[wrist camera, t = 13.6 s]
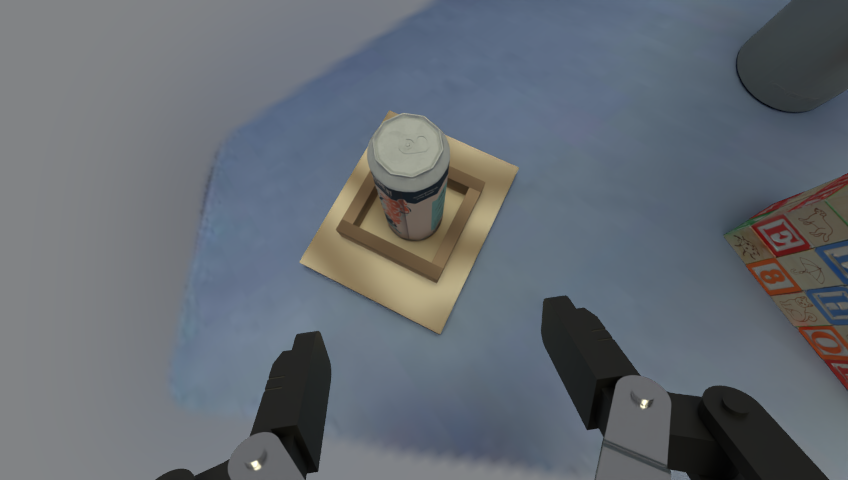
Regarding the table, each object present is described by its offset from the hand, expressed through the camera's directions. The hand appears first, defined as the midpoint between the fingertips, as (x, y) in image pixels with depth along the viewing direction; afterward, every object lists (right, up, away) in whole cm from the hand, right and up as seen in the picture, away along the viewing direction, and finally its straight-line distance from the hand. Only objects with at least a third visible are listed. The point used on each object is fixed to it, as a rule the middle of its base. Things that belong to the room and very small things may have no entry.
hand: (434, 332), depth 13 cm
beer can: (-1, +5, +19) cm, 20 cm away
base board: (-1, +5, +20) cm, 21 cm away
